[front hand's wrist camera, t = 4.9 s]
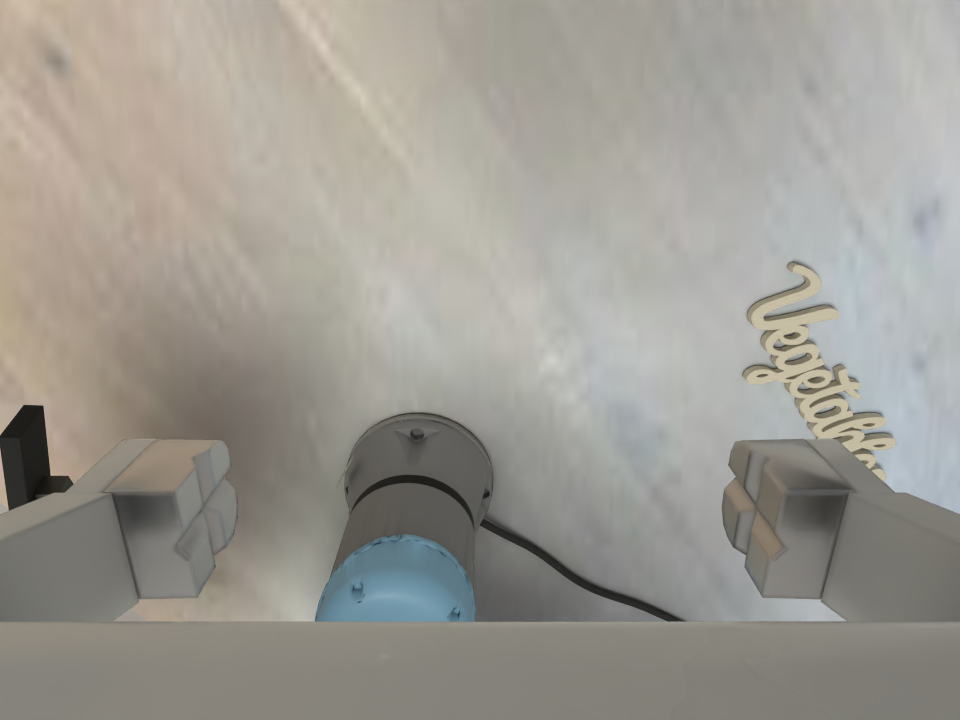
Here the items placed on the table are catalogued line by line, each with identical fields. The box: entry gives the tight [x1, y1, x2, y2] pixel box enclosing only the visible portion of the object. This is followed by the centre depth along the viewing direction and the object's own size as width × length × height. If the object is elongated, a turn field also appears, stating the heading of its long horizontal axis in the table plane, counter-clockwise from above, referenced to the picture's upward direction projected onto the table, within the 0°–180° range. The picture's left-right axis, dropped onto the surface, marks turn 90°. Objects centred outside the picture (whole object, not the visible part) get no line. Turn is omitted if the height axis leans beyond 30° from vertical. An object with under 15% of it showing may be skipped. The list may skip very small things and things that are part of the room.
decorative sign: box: [743, 263, 896, 481], centre depth 62 cm, size 26×1×10 cm
